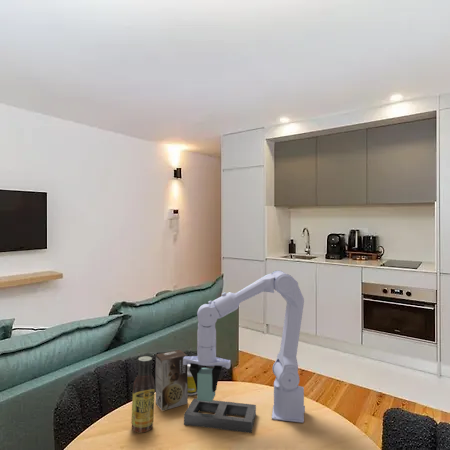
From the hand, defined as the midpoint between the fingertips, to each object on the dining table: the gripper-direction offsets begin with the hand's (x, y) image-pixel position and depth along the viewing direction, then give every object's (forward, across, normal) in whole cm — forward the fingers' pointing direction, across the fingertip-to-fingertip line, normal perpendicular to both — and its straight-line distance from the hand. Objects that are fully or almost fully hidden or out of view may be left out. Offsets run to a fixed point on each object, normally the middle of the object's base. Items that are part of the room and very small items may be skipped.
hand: (206, 389), depth 105 cm
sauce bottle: (+9, +16, +9) cm, 21 cm away
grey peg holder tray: (+8, -4, 0) cm, 10 cm away
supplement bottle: (+9, +10, -15) cm, 20 cm away
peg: (+2, 0, 0) cm, 3 cm away
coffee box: (+9, +14, -6) cm, 17 cm away
